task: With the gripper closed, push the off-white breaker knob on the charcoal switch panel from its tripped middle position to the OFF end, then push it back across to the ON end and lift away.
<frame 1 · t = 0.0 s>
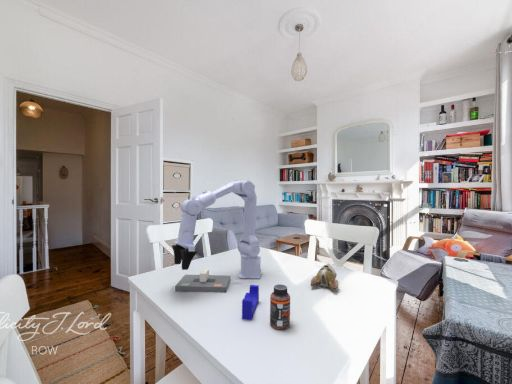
hand: (181, 266, 89), 11 cm above the table, fingers open, 7 cm apart
switch panel: (204, 285, 97), on the table
ceramic sculpture: (325, 286, 98), on the table
supplement bottle: (279, 325, 70), on the table
blue stepped block: (248, 310, 78), on the table
breaker knob: (204, 275, 97), point 4 cm above the table, slide at 0.0 cm
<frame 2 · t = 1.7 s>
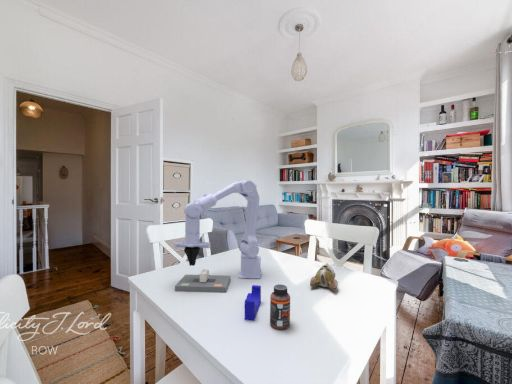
hand: (192, 264, 97), 8 cm above the table, fingers closed
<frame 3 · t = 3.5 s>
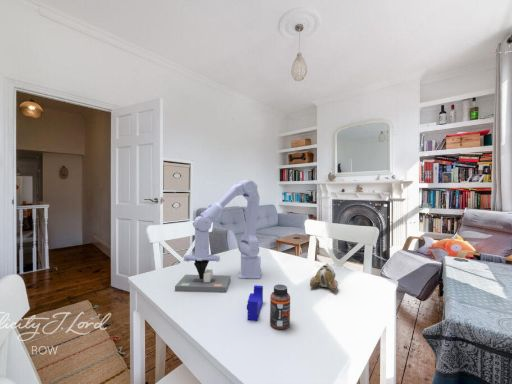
hand: (201, 278, 97), 3 cm above the table, fingers closed
breaker knob: (208, 275, 97), point 4 cm above the table, slide at -1.6 cm, touching gripper
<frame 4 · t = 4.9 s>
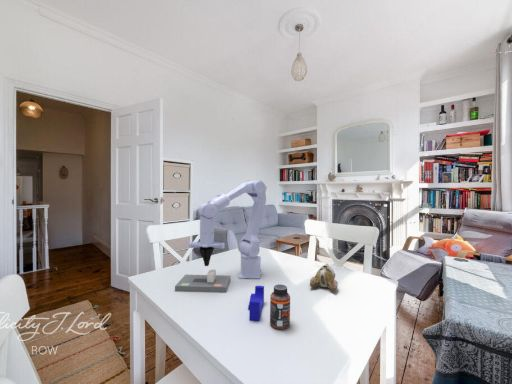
hand: (206, 265, 97), 8 cm above the table, fingers closed
breaker knob: (211, 275, 97), point 4 cm above the table, slide at -3.1 cm
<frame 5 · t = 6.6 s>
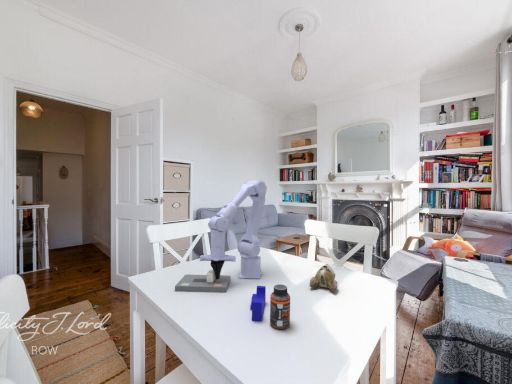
hand: (217, 278, 97), 3 cm above the table, fingers closed
breaker knob: (211, 275, 97), point 4 cm above the table, slide at -2.9 cm, touching gripper
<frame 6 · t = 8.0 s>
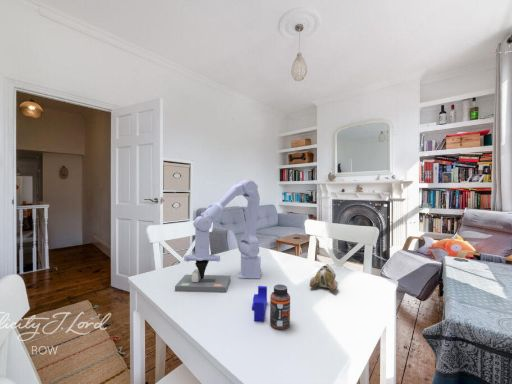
hand: (202, 278, 97), 3 cm above the table, fingers closed
breaker knob: (196, 275, 97), point 4 cm above the table, slide at 3.2 cm, touching gripper
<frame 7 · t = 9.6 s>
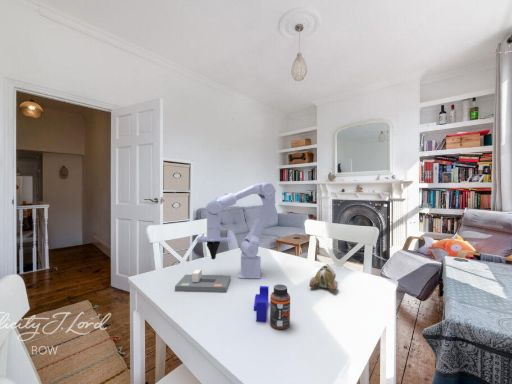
hand: (213, 258, 103), 9 cm above the table, fingers closed
breaker knob: (197, 275, 97), point 4 cm above the table, slide at 3.1 cm
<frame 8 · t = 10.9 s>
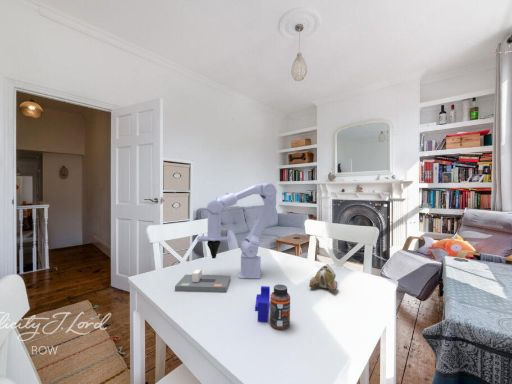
hand: (214, 257, 104), 9 cm above the table, fingers closed
at the end: breaker knob slide at 3.1 cm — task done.
